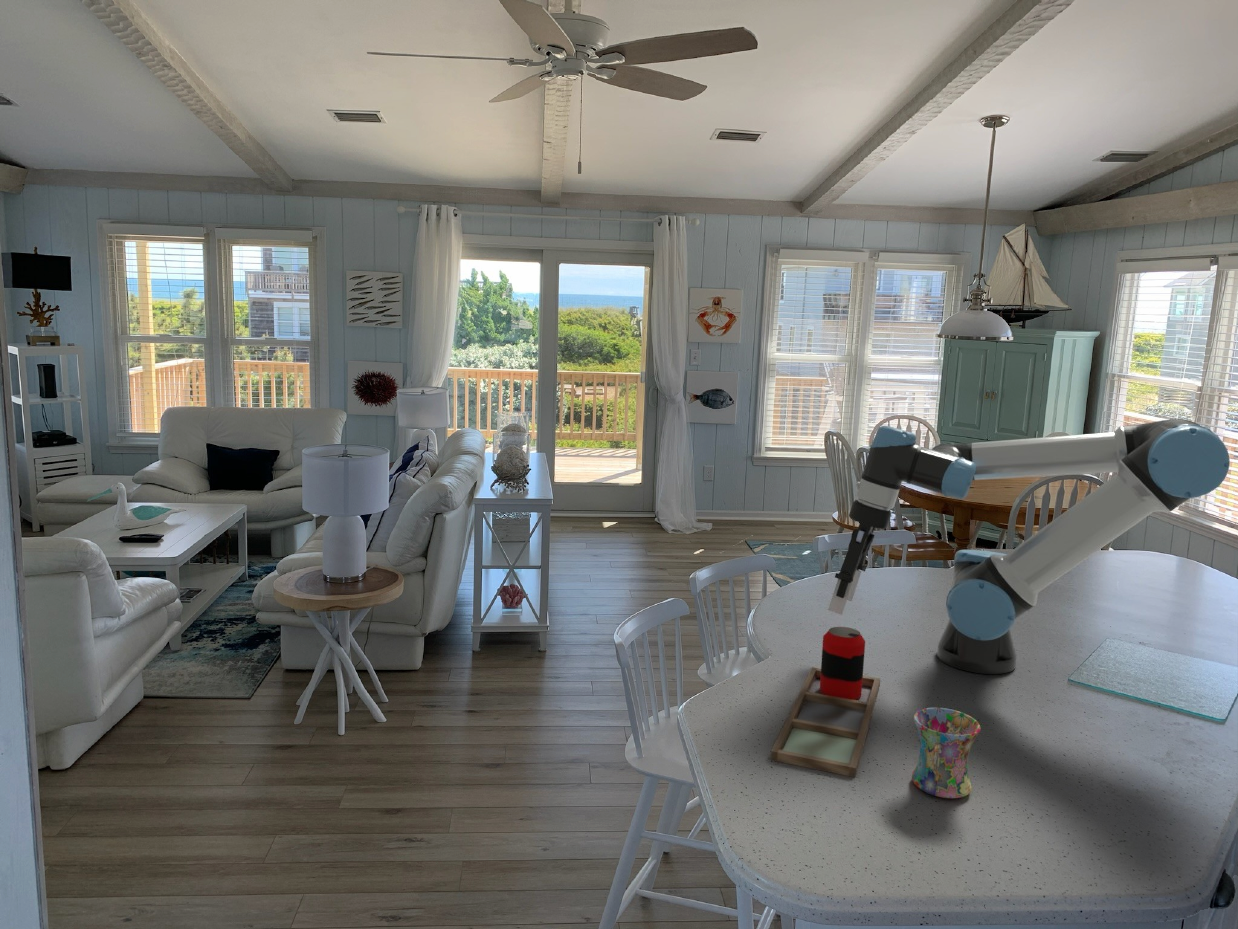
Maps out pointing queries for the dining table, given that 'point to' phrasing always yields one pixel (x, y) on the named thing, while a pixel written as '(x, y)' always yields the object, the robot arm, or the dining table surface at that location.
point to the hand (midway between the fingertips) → (840, 605)
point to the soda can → (842, 663)
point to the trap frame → (826, 729)
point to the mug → (944, 751)
